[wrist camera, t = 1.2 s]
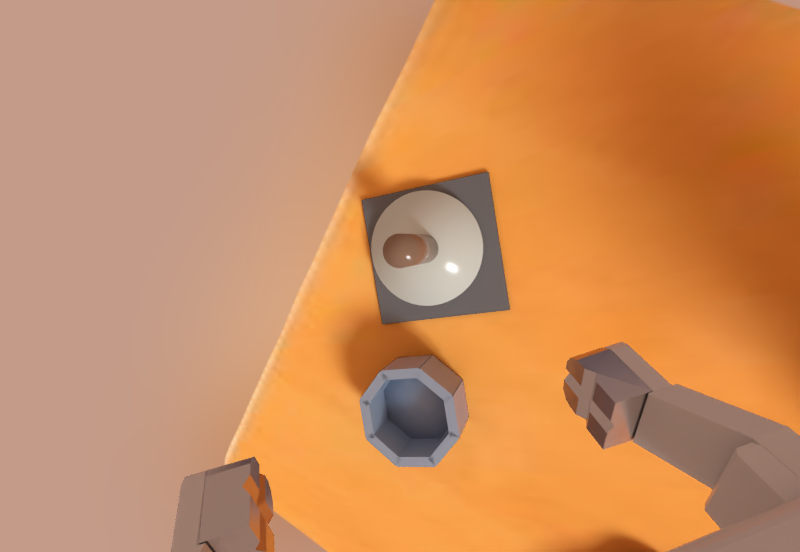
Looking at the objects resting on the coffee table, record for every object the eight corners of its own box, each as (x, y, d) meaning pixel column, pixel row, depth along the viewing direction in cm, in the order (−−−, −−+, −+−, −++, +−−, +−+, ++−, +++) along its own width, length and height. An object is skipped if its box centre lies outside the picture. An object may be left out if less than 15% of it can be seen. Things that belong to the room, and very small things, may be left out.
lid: (473, 180, 43) (455, 166, 35) (492, 296, 44) (478, 311, 35) (366, 203, 47) (326, 196, 39) (384, 310, 48) (348, 326, 39)
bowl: (458, 352, 46) (448, 365, 41) (473, 443, 46) (464, 467, 41) (373, 359, 49) (354, 372, 44) (387, 444, 50) (370, 466, 45)
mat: (488, 172, 43) (487, 171, 43) (509, 309, 44) (509, 309, 43) (363, 200, 48) (361, 200, 48) (383, 323, 48) (382, 324, 48)
